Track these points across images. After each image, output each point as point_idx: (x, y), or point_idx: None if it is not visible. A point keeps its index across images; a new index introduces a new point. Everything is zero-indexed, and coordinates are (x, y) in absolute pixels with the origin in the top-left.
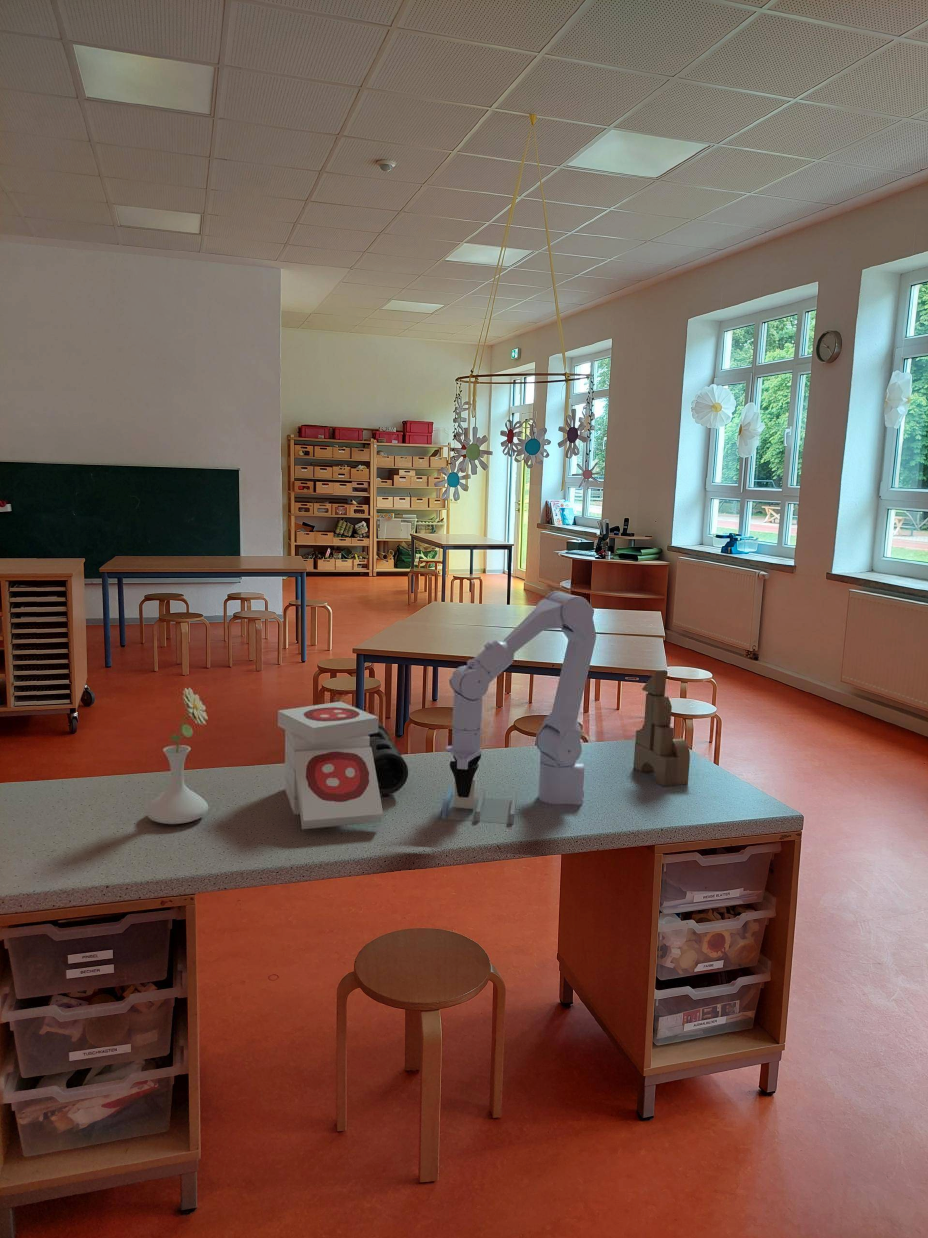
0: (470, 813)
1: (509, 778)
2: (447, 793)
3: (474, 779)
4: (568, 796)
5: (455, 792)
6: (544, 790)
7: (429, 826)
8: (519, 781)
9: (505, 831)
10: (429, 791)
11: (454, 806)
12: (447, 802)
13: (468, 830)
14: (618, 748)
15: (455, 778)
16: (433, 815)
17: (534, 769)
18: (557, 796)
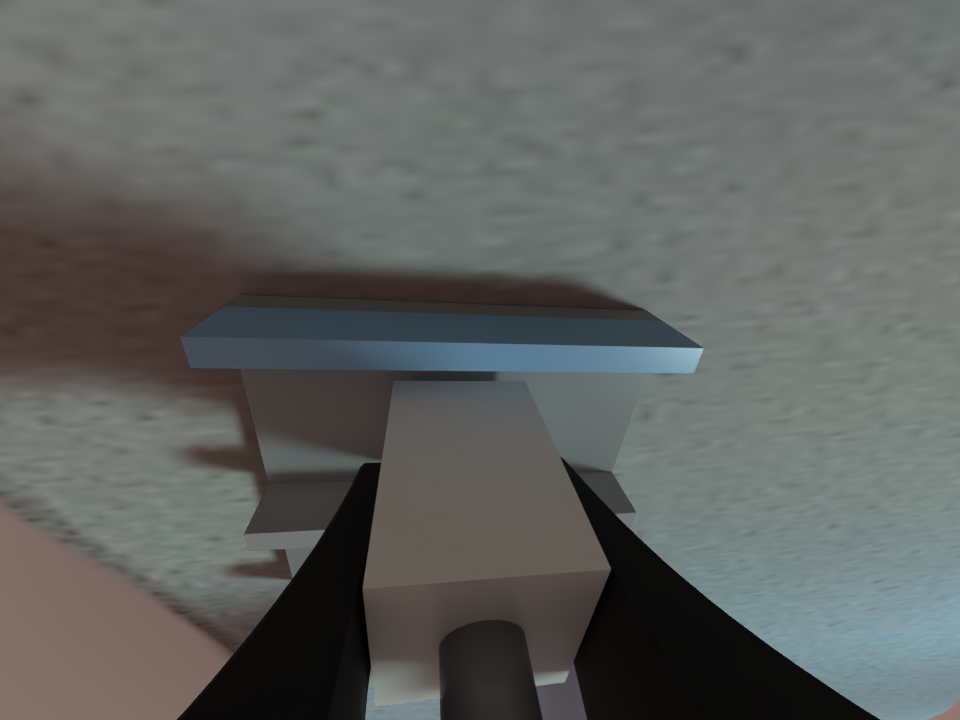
0: (376, 452)
1: (847, 515)
2: (554, 346)
3: (385, 702)
4: (547, 714)
5: (382, 461)
6: (575, 691)
7: (153, 212)
8: (804, 543)
9: (268, 563)
10: (823, 166)
11: (394, 387)
12: (353, 364)
13: (206, 441)
14: (938, 677)
15: (242, 649)
16: (379, 228)
17: (895, 565)
18: (545, 698)
